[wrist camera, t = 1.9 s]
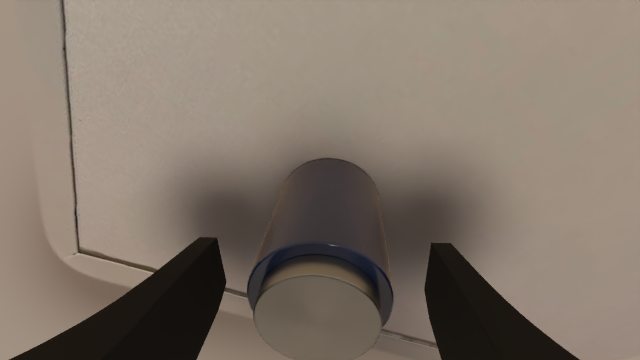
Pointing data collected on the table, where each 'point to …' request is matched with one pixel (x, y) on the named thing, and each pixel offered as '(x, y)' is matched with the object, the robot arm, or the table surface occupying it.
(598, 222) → the table surface
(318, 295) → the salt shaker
